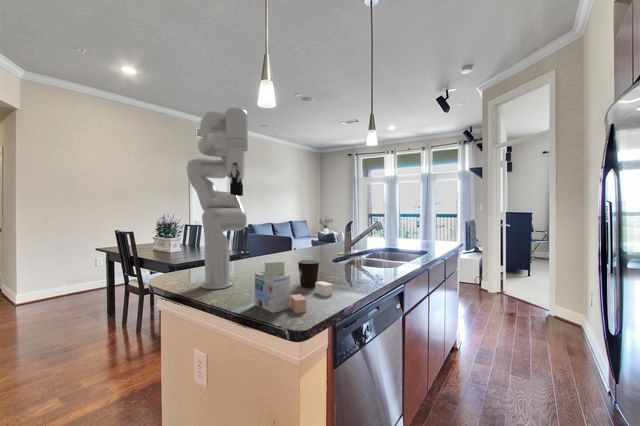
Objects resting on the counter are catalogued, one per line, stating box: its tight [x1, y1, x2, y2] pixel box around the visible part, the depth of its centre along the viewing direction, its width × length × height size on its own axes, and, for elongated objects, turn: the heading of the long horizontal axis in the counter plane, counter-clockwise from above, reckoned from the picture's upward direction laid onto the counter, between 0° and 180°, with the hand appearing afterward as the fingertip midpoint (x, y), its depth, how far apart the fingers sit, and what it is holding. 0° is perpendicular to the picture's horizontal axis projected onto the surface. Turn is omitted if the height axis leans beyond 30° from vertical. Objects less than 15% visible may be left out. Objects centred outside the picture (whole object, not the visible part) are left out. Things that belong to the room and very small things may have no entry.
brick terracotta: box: [289, 293, 307, 314], centre depth 97 cm, size 6×4×4 cm, turn 21°
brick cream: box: [314, 280, 334, 297], centre depth 115 cm, size 6×4×4 cm, turn 38°
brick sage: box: [264, 259, 285, 275], centre depth 99 cm, size 6×4×4 cm, turn 102°
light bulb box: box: [254, 270, 291, 314], centre depth 100 cm, size 11×7×11 cm, turn 45°
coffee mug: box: [297, 259, 320, 289], centre depth 127 cm, size 12×9×10 cm
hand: (236, 195), depth 107 cm, fingers open, 9 cm apart
